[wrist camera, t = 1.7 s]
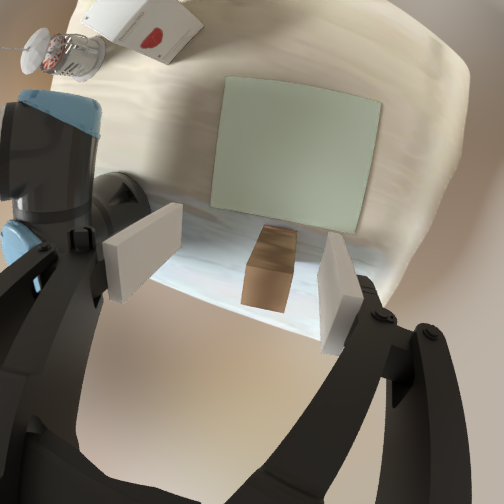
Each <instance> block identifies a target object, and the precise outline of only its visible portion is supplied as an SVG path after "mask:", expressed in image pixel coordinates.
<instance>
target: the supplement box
mask: <svg viewBox="0 0 504 504" xmlns="http://www.w3.org/2000/svg"><path fill="white" fill-rule="evenodd" d="M80 22H81V23H83V24H84V25H86V26H88V27H89V28H91V29H92V30H94V31H95V32H97V33H99V34H100V35H102V36H103V37H105V38H106V39H108V40H110V41H111V42H112V43H115V44H118V45H121V46H123V47H126V48H129V49H131V50H134V51H136V52H139V53H141V54H143V55H146V56H148V57H150V58H152V59H155V60H157V61H159V62H162V63H164V64H166V65H168V64H169V63H170V62H171V61H172V59H173V58H174V57H175V56H176V55H177V54H178V53H179V52H180V50H181V49H182V48H183V47H184V46H185V45H186V44H187V43H188V42H189V41H190V40H191V39H192V38H193V37H194V36H195V35H196V34H197V33H198V32H199V31H200V30H201V29H202V28H203V27H204V25H203V24H202V23H201V22H200V21H199V20H198V19H197V18H196V17H195V16H194V15H193V14H192V13H191V12H190V11H189V10H188V9H187V8H186V7H185V6H184V5H183V4H181V3H180V2H179V1H178V0H96V2H95V3H94V4H93V5H92V7H91V8H90V9H89V10H88V12H87V13H86V14H85V16H84V17H83V18H82V20H81V21H80Z"/></svg>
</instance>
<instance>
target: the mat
mask: <svg viewBox="0 0 504 504" xmlns="http://www.w3.org/2000/svg"><path fill="white" fill-rule="evenodd" d="M380 109H381V103H379V102H376V101H373V100H369V99H366V98H362V97H358V96H355V95H351V94H347V93H342V92H338V91H334V90H329V89H324V88H319V87H314V86H309V85H303V84H297V83H291V82H284V81H276V80H268V79H259V78H248V77H234V76H226V82H225V89H224V95H223V102H222V109H221V116H220V123H219V131H218V139H217V147H216V155H215V163H214V172H213V181H212V191H211V201H210V207H214V208H220V209H226V210H232V211H237V212H243V213H248V214H254V215H259V216H265V217H270V218H275V219H280V220H285V221H290V222H295V223H300V224H305V225H310V226H315V227H320V228H325V229H329V230H334V231H339V232H343V233H348V234H352V235H354V233H355V230H356V226H357V222H358V218H359V214H360V210H361V206H362V202H363V198H364V194H365V189H366V185H367V181H368V176H369V171H370V166H371V161H372V156H373V151H374V146H375V140H376V135H377V129H378V122H379V116H380Z"/></svg>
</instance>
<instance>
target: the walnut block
mask: <svg viewBox="0 0 504 504" xmlns="http://www.w3.org/2000/svg"><path fill="white" fill-rule="evenodd" d="M296 237H297V231H293V230H288V229H283V228H278V227H272V226H267V225H264V227H263V229H262V231H261V233H260V235H259V238H258V240H257V242H256V244H255V247H254V249H253V251H252V253H251V256H250V258H249V260H248V262H247V265H246V270H245V277H244V284H243V291H242V298H241V304H243V305H247V306H252V307H256V308H261V309H266V310H271V311H276V312H281V313H284V311H285V307H286V303H287V299H288V295H289V291H290V287H291V283H292V278H293V273H294V262H295V250H296Z"/></svg>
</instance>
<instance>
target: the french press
mask: <svg viewBox="0 0 504 504" xmlns="http://www.w3.org/2000/svg"><path fill="white" fill-rule="evenodd" d="M75 35H77V36H75ZM64 36H67V38H66V39H65V37H64ZM78 36H82V37H85V38H82V37H81V38H80V37H78ZM69 37H71V40H70V41H69V43H67V41H68V39H69ZM66 44H68V45H67V46H66ZM70 44H73V45H72V46H71V48H70V50H69V51H68V52H67V54H65V52H66V51H67V49H68V48H69V46H70ZM75 45H77V46H76V48H75V49H73V47H74V46H75ZM65 46H66V48H65ZM0 49H13V50H23V53H22V57H21V68H22V71H23V73H25V74H30V73H32V72H34V71H35V70H36V69H37V68H38V67H39V66H40V69H41V71H43V72H47V73H48V74H52V75H64V76H72V78H73V80H75V81H77V82H85V81H87V80H88V79H90V78H91V77H93V75H94V74H95V73H96V72H97V71H98V70H99V68H100V66H101V64H102V62H103V60H104V56H105V53H106V48H105V42H104V41H103V39H102V38H100V37H97V36H95V37H91V38H87V37H86V36H84V35H79V34H57V35H54V36H53V37H52V38H51V39H50V34H49V31H48V29H47V28H41V29H39V30H38V31H36V32H35V33H34V35H32V36H31V38H30V39H29V41H28V42H27V44H26V45H25V47H24V49H20V48H3V47H0ZM54 70H56V73H55V72H54ZM58 70H59V71H58ZM63 71H65V72H63ZM68 71H69V72H70V73H68ZM60 73H62V74H60ZM66 74H67V75H66ZM70 74H71V75H70Z"/></svg>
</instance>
